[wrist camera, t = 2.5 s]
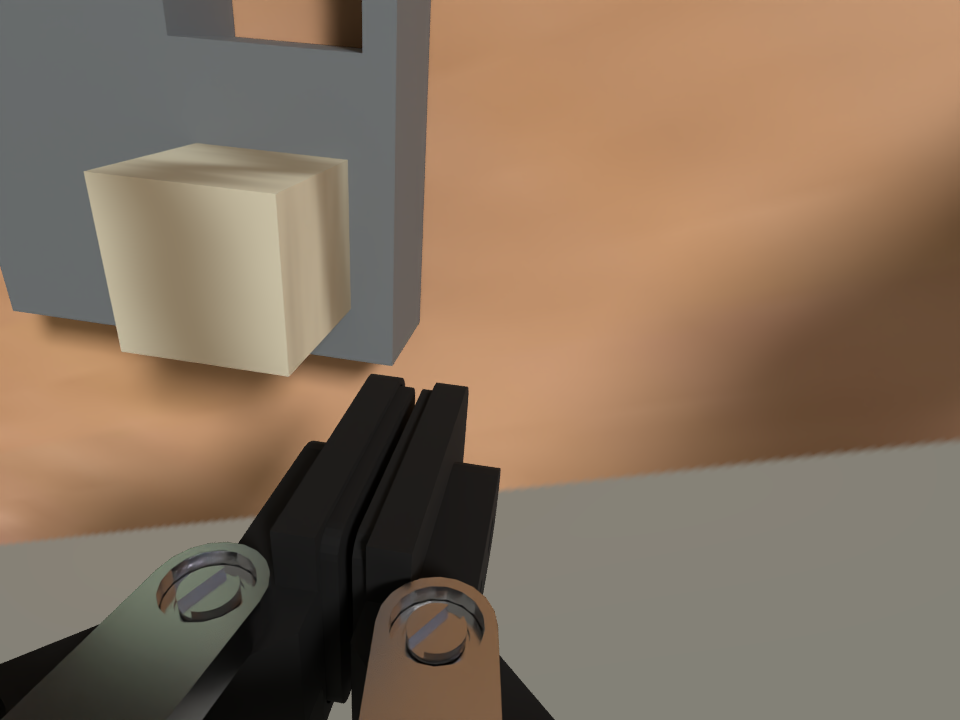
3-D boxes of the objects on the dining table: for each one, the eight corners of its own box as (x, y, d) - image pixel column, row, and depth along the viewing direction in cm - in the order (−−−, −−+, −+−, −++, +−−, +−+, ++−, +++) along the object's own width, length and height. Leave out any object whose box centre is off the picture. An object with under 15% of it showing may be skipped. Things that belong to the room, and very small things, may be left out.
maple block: (347, 159, 19) (275, 194, 15) (351, 308, 22) (289, 376, 17) (196, 143, 20) (83, 171, 15) (214, 290, 22) (121, 351, 18)
